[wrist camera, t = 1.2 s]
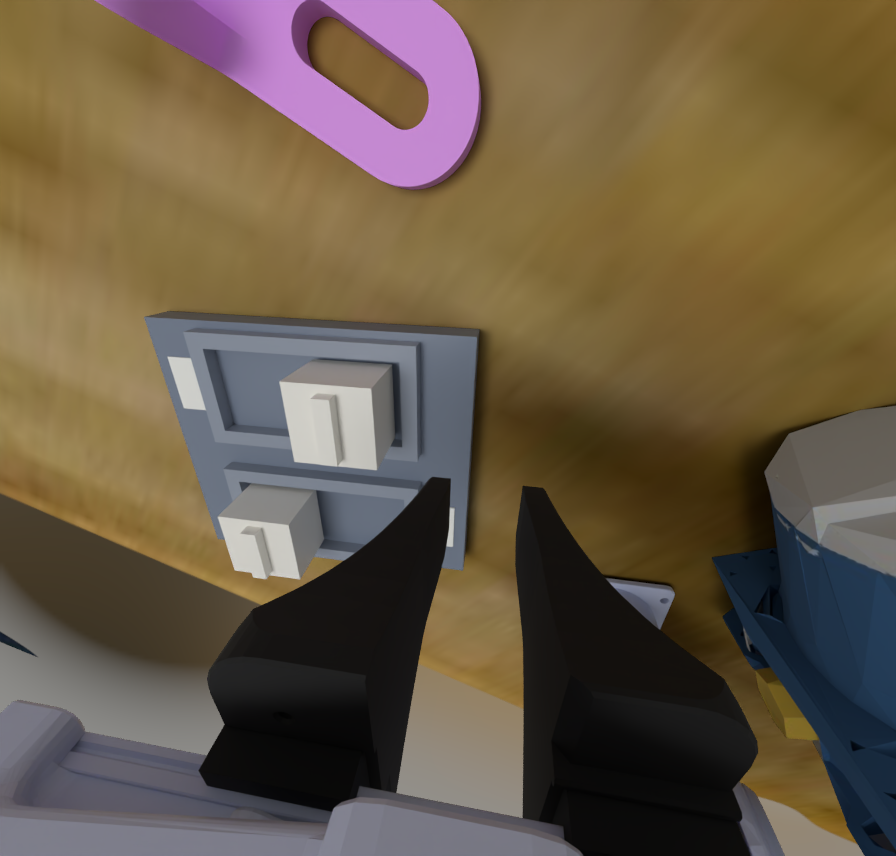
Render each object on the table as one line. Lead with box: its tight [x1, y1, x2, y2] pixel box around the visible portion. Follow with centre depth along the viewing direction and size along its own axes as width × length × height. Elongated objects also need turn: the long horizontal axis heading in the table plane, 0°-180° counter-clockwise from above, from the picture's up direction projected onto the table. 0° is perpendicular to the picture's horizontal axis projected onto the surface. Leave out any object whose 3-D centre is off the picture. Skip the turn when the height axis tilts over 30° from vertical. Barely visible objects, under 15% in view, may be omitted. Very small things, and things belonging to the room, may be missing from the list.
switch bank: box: [144, 311, 480, 570], centre depth 22 cm, size 15×17×2 cm
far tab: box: [218, 483, 324, 579], centre depth 22 cm, size 4×4×4 cm
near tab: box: [279, 359, 395, 470], centre depth 18 cm, size 4×4×4 cm
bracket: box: [95, 0, 481, 190], centre depth 12 cm, size 13×6×7 cm, turn 59°
